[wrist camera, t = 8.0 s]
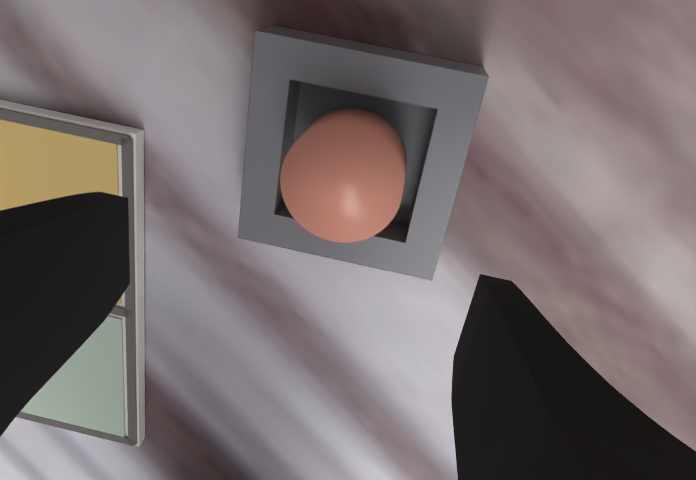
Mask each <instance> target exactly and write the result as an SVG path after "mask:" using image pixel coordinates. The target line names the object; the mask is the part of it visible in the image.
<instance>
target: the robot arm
mask: <svg viewBox="0 0 696 480" xmlns="http://www.w3.org/2000/svg"><path fill="white" fill-rule="evenodd" d="M129 284H130V261H129V213H128V198H127V197H122V196H118V195H113V194H108V193H104V192H89V193H82V194H75V195H70V196H65V197H60V198H55V199H50V200H46V201H41V202H36V203H32V204H27V205H23V206H18V207H14V208H9V209H5V210H0V436H1V435H2V434H3V432H4V431H5V430H6V428H7V427H8V426H9V424H10V423H11V422H12V421H13V419H14V418H15V417H16V416H17V415H18V414H19V412H20V411H21V410H22V409H23V408H24V407H25V405H26V404H27V403H28V402H29V401H30V400H31V399H32V398H33V396H34V395H35V394H36V393H37V392H38V391H39V390H40V389H41V388H42V387H43V386H44V385H45V384H46V383H47V382H48V381H49V380H50V378H51V377H52V376H53V375H54V374H55V373H56V372H57V371H58V370H59V369H60V368H61V367H62V366H63V365H64V364H65V363H66V362H67V360H68V359H69V358H70V357H71V356H72V355H73V354H74V353H75V352H76V351H77V350H78V349H79V348H80V347H81V346H82V345H83V343H84V342H85V341H86V340H87V339H88V338H89V337H90V336H91V335H92V334H93V333H94V332H95V330H96V329H97V328H98V327H99V326H100V325H101V324H102V323H103V322H104V320H105V319H106V318H107V316H108V315H109V314H110V312H111V311H112V309H113V308H114V307H115V305H116V304H117V302H118V301H119V299H120V298H121V296H122V295H123V293H124V292H125V290H126V289H127V287H128V286H129ZM451 401H452V414H453V426H454V438H455V450H456V461H457V472H458V480H696V452H695V451H694V450H693V449H691V448H690V447H688V446H687V445H686V444H684V443H683V442H681V441H680V440H679V439H677V438H676V437H674V436H673V435H672V434H670V433H669V432H668V431H666V430H665V429H664V428H662V427H661V426H660V425H658V424H657V423H656V422H654V421H653V420H652V419H651V418H649V417H648V416H647V415H646V414H645V413H643V412H642V411H641V410H640V409H639V408H637V407H636V406H635V405H634V404H632V403H631V402H630V401H629V400H628V399H626V398H625V397H624V396H623V395H622V394H620V393H619V392H618V391H617V390H616V389H615V388H614V387H612V386H611V385H610V384H609V383H608V382H607V381H606V380H605V379H604V378H603V377H602V376H601V375H600V374H598V373H597V372H596V371H595V370H594V369H593V368H592V367H591V366H590V365H589V364H588V363H587V362H586V361H585V360H584V359H583V358H582V357H581V356H580V355H579V354H578V353H577V352H576V351H575V350H574V349H573V348H572V347H571V346H570V345H569V344H568V343H567V342H566V340H565V339H564V338H563V337H562V336H561V335H560V334H559V333H558V332H557V331H556V330H555V328H554V327H553V326H552V325H551V324H550V323H549V322H548V321H547V320H546V318H545V317H544V316H543V315H542V314H541V313H540V312H539V310H538V309H537V308H536V307H535V306H534V305H533V304H532V302H531V301H530V300H529V299H528V298H527V297H526V296H525V295H524V293H523V292H522V291H521V290H520V289H519V288H518V287H517V286H516V285H515V284H514V283H513V282H512V281H509V280H504V279H500V278H495V277H491V276H486V275H481V274H480V276H479V279H478V282H477V286H476V289H475V292H474V295H473V298H472V301H471V304H470V307H469V311H468V314H467V317H466V320H465V323H464V326H463V329H462V332H461V336H460V339H459V342H458V345H457V348H456V351H455V354H454V361H453V377H452V400H451Z"/></svg>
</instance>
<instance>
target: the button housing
mask: <svg viewBox="0 0 696 480" xmlns="http://www.w3.org/2000/svg"><path fill="white" fill-rule="evenodd" d="M487 81H488V74H487V72H486V70H485V68H484V66H478V65H473V64H468V63H463V62H458V61H453V60H448V59H443V58H438V57H433V56H428V55H422V54H417V53H412V52H407V51H402V50H397V49H392V48H387V47H382V46H377V45H372V44H367V43H361V42H356V41H351V40H346V39H341V38H336V37H331V36H326V35H321V34H316V33H311V32H305V31H300V30H295V29H290V28H285V27H280V26H275V25H272V26H269V27H266V28H262V29H259V30H256V31H255V40H254V52H253V63H252V75H251V87H250V99H249V111H248V123H247V135H246V147H245V159H244V171H243V183H242V195H241V207H240V219H239V231H238V238H241V239H246V240H250V241H255V242H259V243H264V244H268V245H273V246H277V247H282V248H287V249H291V250H296V251H300V252H305V253H309V254H314V255H318V256H323V257H327V258H332V259H336V260H341V261H345V262H350V263H354V264H359V265H364V266H368V267H373V268H377V269H382V270H386V271H391V272H395V273H400V274H404V275H409V276H413V277H418V278H422V279H427V280H431V281H432V279H433V276H434V272H435V268H436V265H437V261H438V257H439V254H440V250H441V247H442V243H443V239H444V236H445V232H446V229H447V225H448V221H449V218H450V214H451V211H452V207H453V203H454V200H455V196H456V193H457V189H458V185H459V182H460V178H461V175H462V171H463V167H464V164H465V160H466V156H467V153H468V149H469V146H470V142H471V138H472V135H473V131H474V128H475V124H476V120H477V117H478V113H479V110H480V106H481V102H482V99H483V95H484V92H485V88H486V84H487ZM340 107H361V108H365V109H369V110H371V111H374V112H376V113H378V114H380V115H381V116H383V117H384V118H385V119H387V120H388V121H389V122H390V123H391V124H392V125H393V126H394V127H395V128H396V130H397V131H398V132H399V134H400V136H401V138H402V140H403V142H404V145H405V148H406V153H407V170H406V176H405V182H404V188H403V194H402V200H401V203H400V207H399V209H398V211H397V213H396V215H395V216H394V218H393V220H392V221H391V222H390V223H389V224H388V225H387V226H386V227H385V228H384V229H383V230H382V231H380V232H379V233H377V234H376V235H374V236H372V237H370V238H368V239H365V240H362V241H357V242H349V243H342V242H333V241H329V240H325V239H322V238H320V237H318V236H316V235H314V234H312V233H310V232H309V231H307V230H306V229H304V228H303V227H302V226H301V225H300V224H299V223H298V222H297V221H296V220H295V219H294V218H293V216H292V215H291V213H290V212H289V210H288V208H287V207H286V205H285V202H284V199H283V197H282V192H281V186H280V174H281V169H282V165H283V162H284V159H285V157H286V155H287V153H288V151H289V150H290V149H291V147H292V146H293V145H294V143H295V142H296V141H297V140H298V139H299V138H300V136H301V135H302V134H303V133H304V132H305V131H306V129H307V128H308V127H309V126H310V125H311V124H312V123H313V122H314V121H315V120H316V119H317V118H318V117H319V116H321V115H323V114H324V113H326V112H328V111H330V110H333V109H336V108H340Z"/></svg>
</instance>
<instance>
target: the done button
mask: <svg viewBox="0 0 696 480" xmlns="http://www.w3.org/2000/svg"><path fill="white" fill-rule="evenodd" d="M406 170H407V153H406V148H405V145H404V142H403V140H402V138H401V136H400V134H399V132H398V131H397V130H396V128H395V127H394V126H393V125H392V124H391V123H390V122H389V121H388V120H387V119H385V118H384V117H383V116H381V115H380V114H378V113H376V112H374V111H371V110H369V109H365V108H361V107H340V108H336V109H333V110H330V111H328V112H326V113H324V114H323V115H321V116H319V117H318V118H317V119H316V120H315V121H314V122H313V123H312V124H311V125H310V126H309V127H308V128H307V129H306V131H305V132H304V133H303V134H302V135H301V136H300V138H299V139H298V140H297V141H296V142H295V143H294V145H293V146H292V147H291V149H290V150H289V151H288V153H287V155H286V157H285V159H284V162H283V165H282V169H281V174H280V186H281V192H282V197H283V199H284V202H285V205H286V207H287V208H288V210H289V212H290V213H291V215H292V216H293V218H294V219H295V220H296V221H297V222H298V223H299V224H300V225H301V226H302V227H303V228H304V229H306V230H307V231H309V232H310V233H312V234H314V235H316V236H318V237H320V238H322V239H325V240H329V241H333V242H342V243H349V242H357V241H362V240H365V239H368V238H370V237H372V236H374V235H376V234H377V233H379V232H380V231H382V230H383V229H384V228H385V227H386V226H387V225H388V224H389V223H390V222H391V221H392V220H393V218H394V216H395V215H396V213H397V211H398V209H399V207H400V203H401V200H402V194H403V188H404V182H405V176H406Z"/></svg>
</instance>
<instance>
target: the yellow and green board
mask: <svg viewBox="0 0 696 480" xmlns="http://www.w3.org/2000/svg"><path fill="white" fill-rule="evenodd" d="M89 192H104V193H108V194H113V195H118V196H122V197H127V198H128V213H129V261H130V284H129V286H128V287H127V289H126V290H125V292H124V293H123V295H122V296H121V298H120V299H119V301H118V302H117V304H116V305H115V307H114V308H113V309H112V311H111V312H110V314H109V315H108V316H107V318H106V319H105V320H104V322H103V323H102V324H101V325H100V326H99V327H98V328H97V329H96V330H95V332H94V333H93V334H92V335H91V336H90V337H89V338H88V339H87V340H86V341H85V342H84V343H83V345H82V346H81V347H80V348H79V349H78V350H77V351H76V352H75V353H74V354H73V355H72V356H71V357H70V358H69V359H68V360H67V362H66V363H65V364H64V365H63V366H62V367H61V368H60V369H59V370H58V371H57V372H56V373H55V374H54V375H53V376H52V377H51V378H50V380H49V381H48V382H47V383H46V384H45V385H44V386H43V387H42V388H41V389H40V390H39V391H38V392H37V393H36V394H35V395H34V396H33V398H32V399H31V400H30V401H29V402H28V403H27V404H26V405H25V407H24V408H23V409H22V410H21V411H20V412H19V414H18V415H17V416H16V417H18V418H22V419H27V420H31V421H35V422H39V423H43V424H47V425H51V426H55V427H59V428H63V429H67V430H71V431H75V432H79V433H83V434H87V435H91V436H95V437H99V438H104V439H108V440H112V441H116V442H120V443H124V444H128V445H132V446H134V445H135V446H140V445H141V443H142V441H143V440H144V438H145V314H144V130H142V129H137V128H133V127H128V126H123V125H118V124H114V123H109V122H104V121H99V120H95V119H90V118H85V117H80V116H76V115H71V114H66V113H61V112H57V111H52V110H47V109H42V108H38V107H33V106H28V105H24V104H19V103H14V102H9V101H5V100H0V210H5V209H9V208H14V207H18V206H23V205H27V204H32V203H36V202H41V201H46V200H50V199H55V198H60V197H65V196H70V195H75V194H82V193H89Z"/></svg>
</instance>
